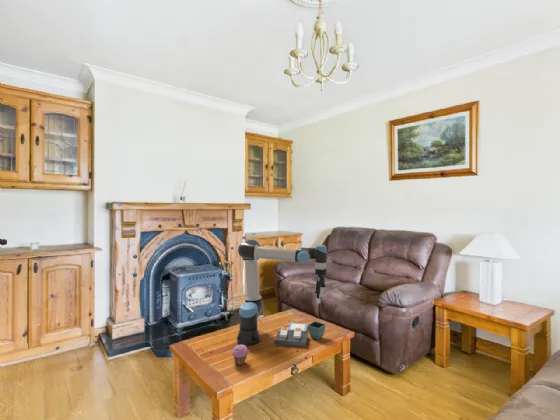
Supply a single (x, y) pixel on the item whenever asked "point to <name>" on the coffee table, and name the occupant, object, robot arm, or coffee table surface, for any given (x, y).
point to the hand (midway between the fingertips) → (320, 299)
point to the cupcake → (240, 354)
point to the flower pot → (316, 330)
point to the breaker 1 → (283, 332)
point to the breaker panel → (291, 340)
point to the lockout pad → (297, 325)
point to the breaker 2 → (297, 333)
